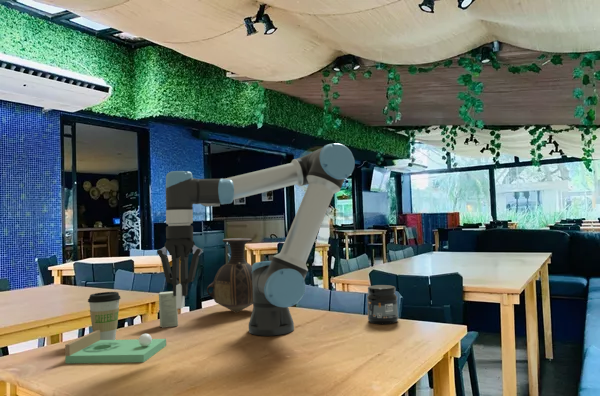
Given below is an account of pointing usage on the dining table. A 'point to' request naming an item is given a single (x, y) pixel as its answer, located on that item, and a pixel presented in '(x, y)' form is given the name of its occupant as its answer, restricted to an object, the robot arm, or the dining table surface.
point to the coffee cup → (104, 313)
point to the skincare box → (168, 309)
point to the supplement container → (382, 304)
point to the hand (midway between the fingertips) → (180, 307)
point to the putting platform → (109, 350)
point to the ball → (145, 340)
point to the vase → (234, 279)
